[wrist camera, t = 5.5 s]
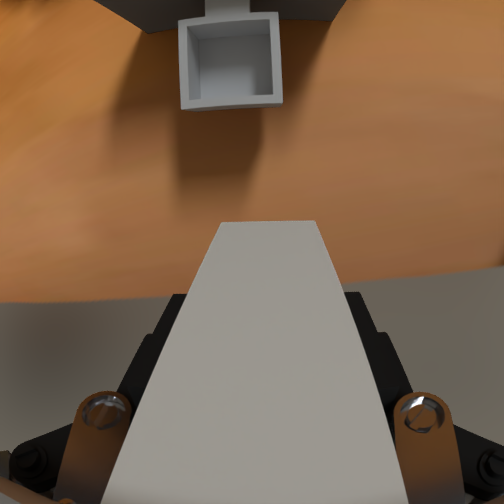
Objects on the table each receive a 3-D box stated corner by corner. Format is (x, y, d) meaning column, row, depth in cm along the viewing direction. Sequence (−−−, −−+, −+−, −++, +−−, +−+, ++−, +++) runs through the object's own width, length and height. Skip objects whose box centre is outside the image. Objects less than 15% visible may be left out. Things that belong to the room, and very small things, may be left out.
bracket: (326, -31, 21) (352, -92, 10) (337, 110, 27) (379, 103, 16) (149, -17, 22) (97, -66, 11) (150, 119, 28) (88, 122, 17)
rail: (314, 220, 13) (428, 638, 1) (311, 301, 15) (351, 631, 2) (221, 222, 14) (63, 618, 1) (228, 302, 15) (158, 625, 2)
